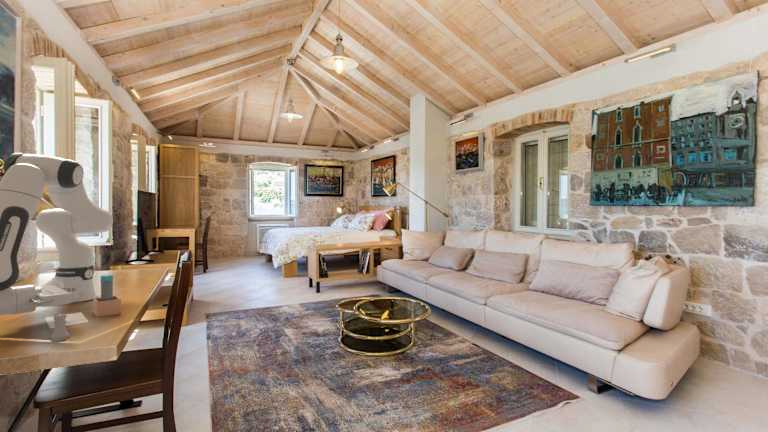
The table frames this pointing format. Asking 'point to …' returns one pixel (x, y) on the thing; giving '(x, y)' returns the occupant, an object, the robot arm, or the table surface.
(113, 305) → the pen cup
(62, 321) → the rook chess piece
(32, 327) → the table surface
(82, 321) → the drawing board
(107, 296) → the marker
